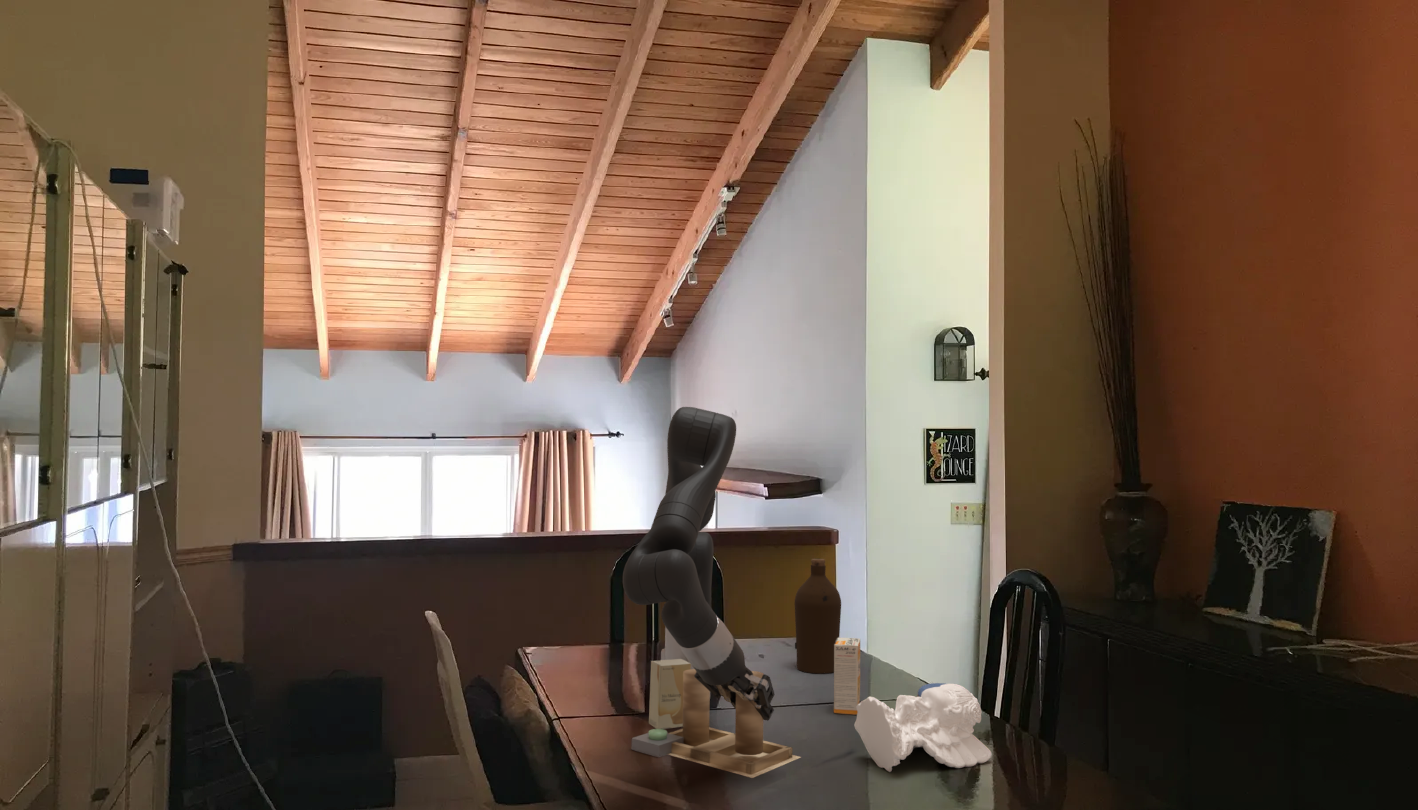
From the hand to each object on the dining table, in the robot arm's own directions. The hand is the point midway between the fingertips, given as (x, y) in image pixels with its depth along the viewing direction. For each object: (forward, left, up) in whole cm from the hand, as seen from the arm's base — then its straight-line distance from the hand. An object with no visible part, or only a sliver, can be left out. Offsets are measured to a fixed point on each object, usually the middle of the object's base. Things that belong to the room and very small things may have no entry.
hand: (756, 712), depth 157 cm
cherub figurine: (+19, +20, -9) cm, 29 cm away
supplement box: (-6, +39, -8) cm, 40 cm away
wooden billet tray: (-5, -2, -8) cm, 10 cm away
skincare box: (-22, +5, -8) cm, 24 cm away
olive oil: (-29, +64, -8) cm, 71 cm away
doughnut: (+7, +53, -9) cm, 54 cm away
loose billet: (0, -2, -6) cm, 6 cm away
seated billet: (-11, -2, -7) cm, 13 cm away
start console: (-14, -7, -8) cm, 18 cm away
